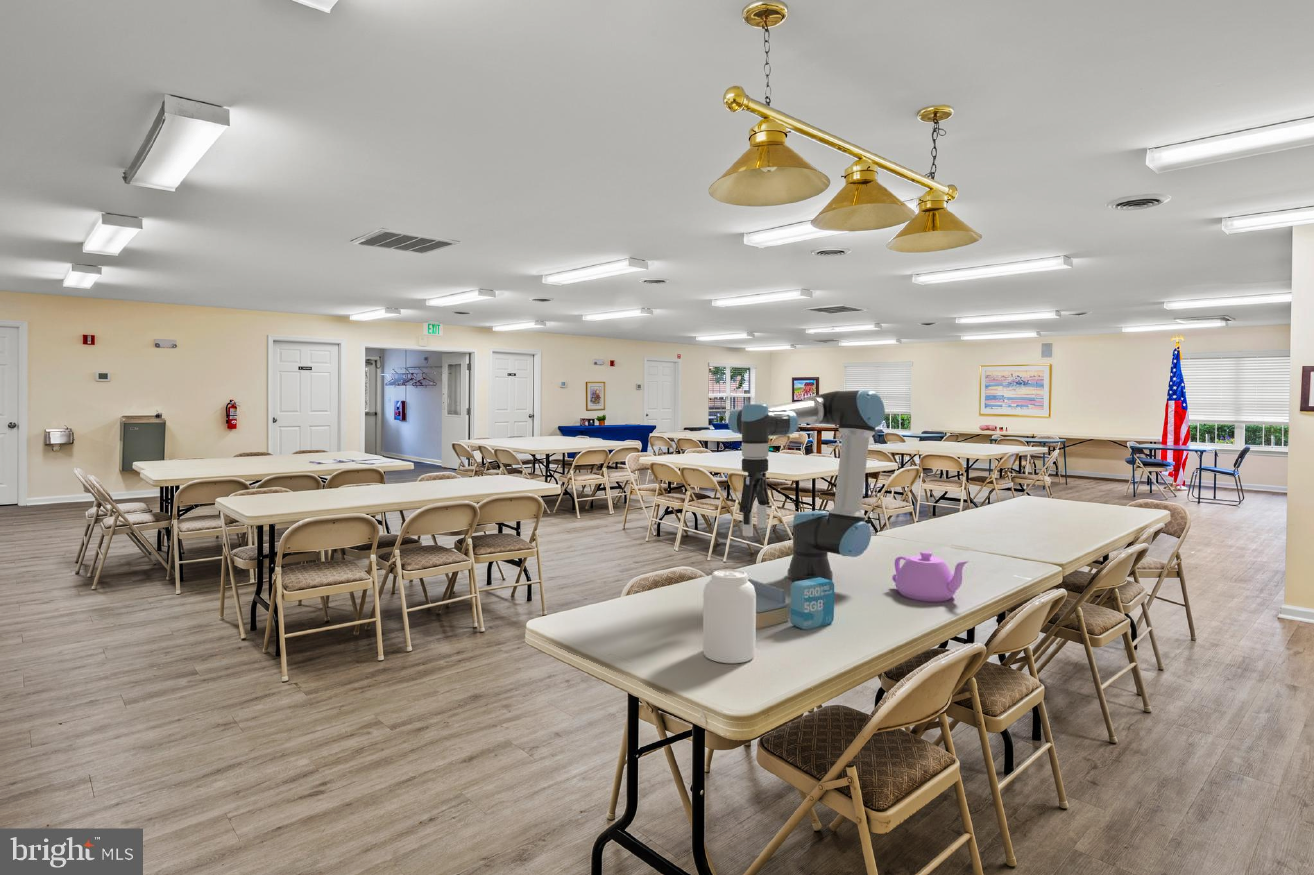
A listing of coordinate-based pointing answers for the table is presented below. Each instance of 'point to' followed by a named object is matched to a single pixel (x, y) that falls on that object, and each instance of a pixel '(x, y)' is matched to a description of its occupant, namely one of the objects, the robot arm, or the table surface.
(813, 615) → the data package
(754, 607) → the white bottle
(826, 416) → the robot arm
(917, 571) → the teapot
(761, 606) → the lid
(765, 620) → the light brown shallow tray
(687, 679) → the table surface
